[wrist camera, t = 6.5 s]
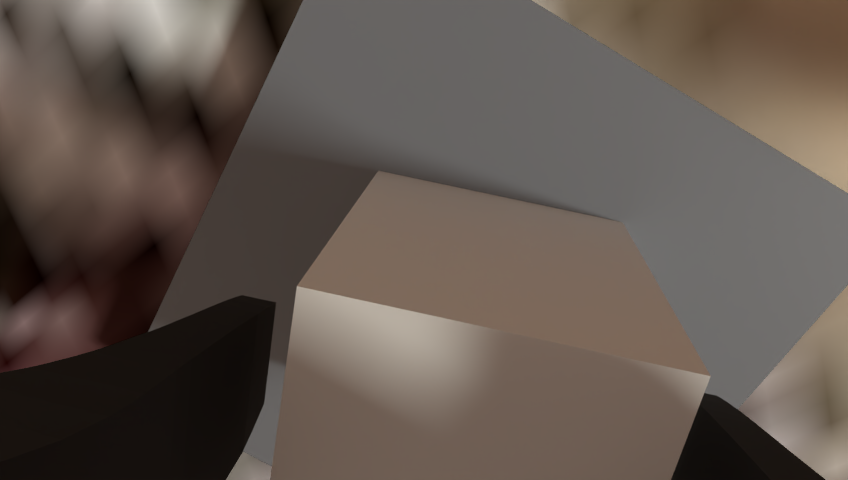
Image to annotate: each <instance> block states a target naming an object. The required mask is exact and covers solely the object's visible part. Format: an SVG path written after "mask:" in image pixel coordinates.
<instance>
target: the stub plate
mask: <svg viewBox="0 0 848 480" xmlns="http://www.w3.org/2000/svg"><path fill="white" fill-rule="evenodd" d="M378 171H382V172H387V173H392V174H396V175H401V176H406V177H411V178H415V179H420V180H425V181H430V182H434V183H439V184H444V185H449V186H453V187H458V188H463V189H467V190H472V191H477V192H482V193H486V194H491V195H496V196H501V197H505V198H510V199H515V200H519V201H524V202H529V203H534V204H538V205H543V206H548V207H553V208H557V209H562V210H567V211H572V212H576V213H581V214H586V215H590V216H595V217H600V218H605V219H609V220H614V221H619V222H623V224H624V226H625V227H626V229H627V231H628V233H629V234H630V236H631V238H632V240H633V241H634V243H635V245H636V247H637V248H638V250H639V252H640V253H641V255H642V257H643V259H644V260H645V262H646V264H647V266H648V267H649V269H650V271H651V273H652V274H653V276H654V278H655V280H656V281H657V283H658V285H659V287H660V288H661V290H662V292H663V294H664V295H665V297H666V299H667V301H668V302H669V304H670V306H671V308H672V309H673V311H674V313H675V315H676V316H677V318H678V320H679V322H680V323H681V325H682V327H683V329H684V330H685V332H686V334H687V336H688V337H689V339H690V341H691V343H692V344H693V346H694V348H695V350H696V351H697V353H698V355H699V357H700V358H701V360H702V362H703V364H704V365H705V367H706V369H707V371H708V372H709V374H710V376H711V377H710V379H709V382H708V385H707V387H706V390H705V392H704V393H707V394H711V395H716V396H718V397H720V398H722V399H723V400H725V401H726V402H728V403H729V404H731V405H732V406H733V407H735V408H736V409H738V408H739V407H740V406H741V405H742V404H743V403H744V402H745V400H746V399H747V398H748V397H749V396H750V395H751V394H752V393H753V391H754V390H755V389H756V388H757V387H758V386H759V385H760V383H761V382H762V381H763V380H764V379H765V378H766V377H767V376H768V374H769V373H770V372H771V371H772V370H773V369H774V368H775V367H776V365H777V364H778V363H779V362H780V361H781V360H782V359H783V357H784V356H785V355H786V354H787V353H788V352H789V351H790V350H791V348H792V347H793V346H794V345H795V344H796V343H797V342H798V341H799V339H800V338H801V337H802V336H803V335H804V334H805V333H806V331H807V330H808V329H809V328H810V327H811V326H812V325H813V324H814V322H815V321H816V320H817V319H818V318H819V317H820V316H821V314H822V313H823V312H824V311H825V310H826V309H827V308H828V307H829V305H830V304H831V303H832V302H833V301H834V300H835V299H836V298H837V296H838V295H839V294H840V293H841V292H842V291H843V290H844V288H845V287H846V286H847V285H848V193H846V192H845V191H843V190H841V189H840V188H838V187H836V186H835V185H833V184H832V183H830V182H828V181H827V180H825V179H823V178H822V177H820V176H818V175H817V174H815V173H813V172H812V171H810V170H809V169H807V168H805V167H804V166H802V165H800V164H799V163H797V162H795V161H794V160H792V159H791V158H789V157H787V156H786V155H784V154H782V153H781V152H779V151H777V150H776V149H774V148H772V147H771V146H769V145H768V144H766V143H764V142H763V141H761V140H759V139H758V138H756V137H754V136H753V135H751V134H750V133H748V132H746V131H745V130H743V129H741V128H740V127H738V126H736V125H735V124H733V123H732V122H730V121H728V120H727V119H725V118H723V117H722V116H720V115H718V114H717V113H715V112H713V111H712V110H710V109H709V108H707V107H705V106H704V105H702V104H700V103H699V102H697V101H695V100H694V99H692V98H691V97H689V96H687V95H686V94H684V93H682V92H681V91H679V90H677V89H676V88H674V87H672V86H671V85H669V84H668V83H666V82H664V81H663V80H661V79H659V78H658V77H656V76H654V75H653V74H651V73H650V72H648V71H646V70H645V69H643V68H641V67H640V66H638V65H636V64H635V63H633V62H631V61H630V60H628V59H627V58H625V57H623V56H622V55H620V54H618V53H617V52H615V51H613V50H612V49H610V48H609V47H607V46H605V45H604V44H602V43H600V42H599V41H597V40H595V39H594V38H592V37H590V36H589V35H587V34H586V33H584V32H582V31H581V30H579V29H577V28H576V27H574V26H572V25H571V24H569V23H568V22H566V21H564V20H563V19H561V18H559V17H558V16H556V15H554V14H553V13H551V12H550V11H548V10H546V9H545V8H543V7H541V6H540V5H538V4H536V3H535V2H533V1H531V0H303V2H302V4H301V6H300V8H299V10H298V12H297V14H296V16H295V19H294V21H293V23H292V25H291V27H290V29H289V31H288V34H287V36H286V38H285V40H284V42H283V44H282V46H281V49H280V51H279V53H278V55H277V57H276V59H275V61H274V64H273V66H272V68H271V70H270V72H269V74H268V76H267V79H266V81H265V83H264V85H263V87H262V89H261V91H260V94H259V96H258V98H257V100H256V102H255V104H254V106H253V108H252V111H251V113H250V115H249V117H248V119H247V121H246V123H245V126H244V128H243V130H242V132H241V134H240V136H239V138H238V141H237V143H236V145H235V147H234V149H233V151H232V153H231V156H230V158H229V160H228V162H227V164H226V166H225V168H224V171H223V173H222V175H221V177H220V179H219V181H218V183H217V186H216V188H215V190H214V192H213V194H212V196H211V198H210V200H209V203H208V205H207V207H206V209H205V211H204V213H203V215H202V218H201V220H200V222H199V224H198V226H197V228H196V230H195V233H194V235H193V237H192V239H191V241H190V243H189V245H188V248H187V250H186V252H185V254H184V256H183V258H182V260H181V263H180V265H179V267H178V269H177V271H176V273H175V275H174V277H173V280H172V282H171V284H170V286H169V288H168V290H167V292H166V295H165V297H164V299H163V301H162V303H161V305H160V307H159V310H158V312H157V314H156V316H155V318H154V320H153V322H152V325H151V327H150V329H149V331H152V330H155V329H158V328H160V327H163V326H165V325H168V324H170V323H172V322H175V321H177V320H180V319H182V318H185V317H187V316H189V315H192V314H194V313H197V312H199V311H201V310H204V309H206V308H209V307H211V306H213V305H216V304H218V303H221V302H223V301H226V300H228V299H231V298H234V297H237V296H241V295H244V296H249V297H253V298H258V299H263V300H267V301H272V302H276V309H275V317H274V326H273V334H272V342H271V351H270V359H269V368H268V376H267V384H266V393H265V401H264V405H263V408H262V410H261V412H260V414H259V417H258V419H257V421H256V424H255V426H254V428H253V431H252V433H251V435H250V437H249V439H248V441H247V444H246V446H245V448H244V450H243V452H245V453H247V454H249V455H251V456H253V457H255V458H257V459H259V460H260V461H262V462H264V463H266V464H268V465H270V466H272V463H273V456H274V449H275V441H276V434H277V427H278V420H279V412H280V405H281V398H282V391H283V383H284V376H285V369H286V361H287V354H288V347H289V340H290V332H291V325H292V318H293V311H294V303H295V296H296V289H297V285H298V284H299V282H300V281H301V280H302V278H303V277H304V275H305V274H306V272H307V271H308V270H309V268H310V267H311V265H312V264H313V263H314V261H315V260H316V258H317V257H318V255H319V254H320V253H321V251H322V250H323V248H324V247H325V246H326V244H327V243H328V241H329V240H330V238H331V237H332V236H333V234H334V233H335V231H336V230H337V229H338V227H339V226H340V224H341V223H342V221H343V220H344V219H345V217H346V216H347V214H348V213H349V212H350V210H351V209H352V207H353V206H354V204H355V203H356V202H357V200H358V199H359V197H360V196H361V195H362V193H363V192H364V190H365V189H366V187H367V186H368V185H369V183H370V182H371V180H372V179H373V178H374V176H375V175H376V173H377V172H378ZM149 331H148V332H149Z"/></svg>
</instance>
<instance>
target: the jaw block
mask: <svg viewBox="0 0 848 480" xmlns="http://www.w3.org/2000/svg"><path fill="white" fill-rule="evenodd" d="M710 377H711V376H710V374H709V372H708V371H707V369H706V367H705V365H704V364H703V362H702V360H701V358H700V357H699V355H698V353H697V351H696V350H695V348H694V346H693V344H692V343H691V341H690V339H689V337H688V336H687V334H686V332H685V330H684V329H683V327H682V325H681V323H680V322H679V320H678V318H677V316H676V315H675V313H674V311H673V309H672V308H671V306H670V304H669V302H668V301H667V299H666V297H665V295H664V294H663V292H662V290H661V288H660V287H659V285H658V283H657V281H656V280H655V278H654V276H653V274H652V273H651V271H650V269H649V267H648V266H647V264H646V262H645V260H644V259H643V257H642V255H641V253H640V252H639V250H638V248H637V247H636V245H635V243H634V241H633V240H632V238H631V236H630V234H629V233H628V231H627V229H626V227H625V226H624V224H623V222H619V221H614V220H609V219H605V218H600V217H595V216H590V215H586V214H581V213H576V212H572V211H567V210H562V209H557V208H553V207H548V206H543V205H538V204H534V203H529V202H524V201H519V200H515V199H510V198H505V197H501V196H496V195H491V194H486V193H482V192H477V191H472V190H467V189H463V188H458V187H453V186H449V185H444V184H439V183H434V182H430V181H425V180H420V179H415V178H411V177H406V176H401V175H396V174H392V173H387V172H382V171H378V172H377V173H376V175H375V176H374V178H373V179H372V180H371V182H370V183H369V185H368V186H367V187H366V189H365V190H364V192H363V193H362V195H361V196H360V197H359V199H358V200H357V202H356V203H355V204H354V206H353V207H352V209H351V210H350V212H349V213H348V214H347V216H346V217H345V219H344V220H343V221H342V223H341V224H340V226H339V227H338V229H337V230H336V231H335V233H334V234H333V236H332V237H331V238H330V240H329V241H328V243H327V244H326V246H325V247H324V248H323V250H322V251H321V253H320V254H319V255H318V257H317V258H316V260H315V261H314V263H313V264H312V265H311V267H310V268H309V270H308V271H307V272H306V274H305V275H304V277H303V278H302V280H301V281H300V282H299V284H298V285H297V289H296V296H295V303H294V311H293V318H292V325H291V332H290V340H289V347H288V354H287V361H286V369H285V376H284V383H283V391H282V398H281V405H280V412H279V420H278V427H277V434H276V441H275V449H274V456H273V463H272V470H271V478H270V480H671V478H672V476H673V473H674V471H675V468H676V465H677V463H678V460H679V458H680V455H681V452H682V450H683V447H684V444H685V442H686V439H687V437H688V434H689V431H690V429H691V426H692V424H693V421H694V418H695V416H696V413H697V411H698V408H699V405H700V403H701V400H702V398H703V395H704V392H705V390H706V387H707V385H708V382H709V379H710Z"/></svg>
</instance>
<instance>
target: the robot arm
mask: <svg viewBox="0 0 848 480" xmlns="http://www.w3.org/2000/svg"><path fill="white" fill-rule="evenodd" d="M275 309H276V302H272V301H267V300H263V299H258V298H253V297H249V296H244V295H241V296H237V297H234V298H231V299H228V300H226V301H223V302H221V303H218V304H216V305H213V306H211V307H209V308H206V309H204V310H201V311H199V312H197V313H194V314H192V315H189V316H187V317H185V318H182V319H180V320H177V321H175V322H172V323H170V324H168V325H165V326H163V327H160V328H158V329H155V330H152V331H149V332H147V333H144V334H141V335H138V336H135V337H133V338H130V339H127V340H124V341H121V342H119V343H116V344H113V345H110V346H107V347H104V348H101V349H98V350H95V351H91V352H88V353H84V354H81V355H78V356H74V357H70V358H66V359H62V360H58V361H54V362H51V363H47V364H43V365H38V366H34V367H29V368H24V369H19V370H13V371H8V372H3V373H0V480H226V478H227V477H228V475H229V473H230V472H231V470H232V469H233V467H234V465H235V464H236V462H237V460H238V459H239V457H240V455H241V454H242V452H243V450H244V448H245V446H246V444H247V441H248V439H249V437H250V435H251V433H252V431H253V428H254V426H255V424H256V421H257V419H258V417H259V414H260V412H261V410H262V408H263V405H264V401H265V393H266V384H267V376H268V368H269V359H270V351H271V342H272V334H273V326H274V317H275ZM671 480H825V479H824V478H823V477H821V476H820V475H819V474H818V473H816V472H815V471H814V470H813V469H811V468H810V467H809V466H808V465H806V464H805V463H804V462H803V461H801V460H800V459H799V458H798V457H796V456H795V455H794V454H793V453H791V452H790V451H789V450H788V449H786V448H785V447H784V446H783V445H781V444H780V443H779V442H778V441H777V440H775V439H774V438H773V437H772V436H770V435H769V434H768V433H767V432H765V431H764V430H763V429H762V428H761V427H759V426H758V425H757V424H756V423H754V422H753V421H752V420H751V419H749V418H748V417H747V416H745V415H744V414H743V413H741V412H740V411H739V410H738V409H736V408H735V407H733V406H732V405H731V404H729V403H728V402H726V401H725V400H723V399H722V398H720V397H718V396H716V395H711V394H707V393H704V395H703V398H702V400H701V403H700V405H699V408H698V411H697V413H696V416H695V418H694V421H693V424H692V426H691V429H690V431H689V434H688V437H687V439H686V442H685V444H684V447H683V450H682V452H681V455H680V458H679V460H678V463H677V465H676V468H675V471H674V473H673V476H672V478H671Z"/></svg>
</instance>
